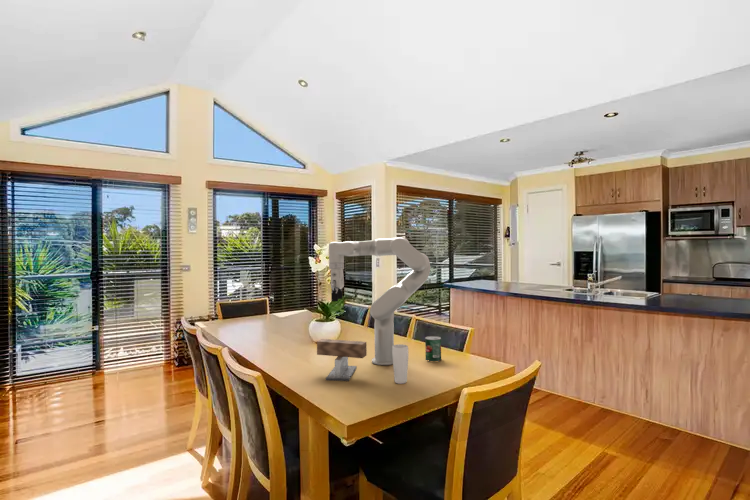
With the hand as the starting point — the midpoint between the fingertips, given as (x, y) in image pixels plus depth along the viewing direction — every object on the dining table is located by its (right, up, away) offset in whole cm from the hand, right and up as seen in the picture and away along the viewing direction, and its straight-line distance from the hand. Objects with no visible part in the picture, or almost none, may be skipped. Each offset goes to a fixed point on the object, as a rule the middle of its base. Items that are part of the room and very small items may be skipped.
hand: (337, 299), depth 195 cm
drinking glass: (+30, -30, -34) cm, 55 cm away
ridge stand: (+4, -30, -23) cm, 38 cm away
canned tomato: (+49, -30, -3) cm, 57 cm away
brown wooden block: (+4, -22, -23) cm, 32 cm away
